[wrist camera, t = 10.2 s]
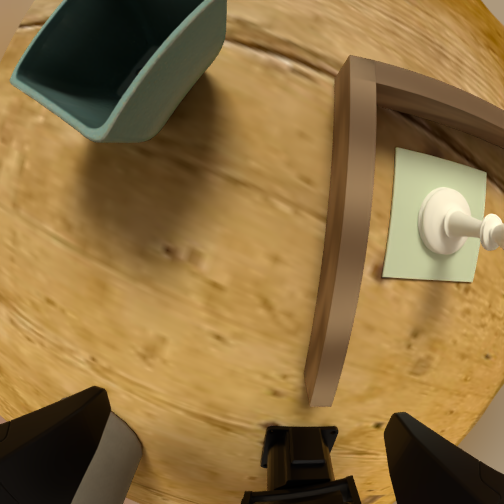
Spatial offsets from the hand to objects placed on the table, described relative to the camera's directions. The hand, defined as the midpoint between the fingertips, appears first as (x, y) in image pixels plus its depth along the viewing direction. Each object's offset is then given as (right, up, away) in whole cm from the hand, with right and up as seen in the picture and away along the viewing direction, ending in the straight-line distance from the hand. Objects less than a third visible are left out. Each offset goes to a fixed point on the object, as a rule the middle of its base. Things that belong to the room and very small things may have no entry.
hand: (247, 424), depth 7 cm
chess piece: (+14, +7, +11) cm, 19 cm away
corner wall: (+16, +5, +11) cm, 20 cm away
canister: (-17, -15, +17) cm, 28 cm away
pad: (+14, +7, +11) cm, 19 cm away
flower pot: (-6, +17, +10) cm, 21 cm away
